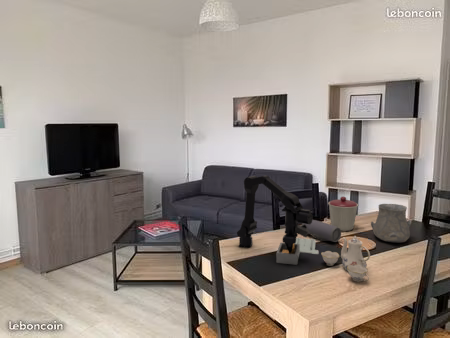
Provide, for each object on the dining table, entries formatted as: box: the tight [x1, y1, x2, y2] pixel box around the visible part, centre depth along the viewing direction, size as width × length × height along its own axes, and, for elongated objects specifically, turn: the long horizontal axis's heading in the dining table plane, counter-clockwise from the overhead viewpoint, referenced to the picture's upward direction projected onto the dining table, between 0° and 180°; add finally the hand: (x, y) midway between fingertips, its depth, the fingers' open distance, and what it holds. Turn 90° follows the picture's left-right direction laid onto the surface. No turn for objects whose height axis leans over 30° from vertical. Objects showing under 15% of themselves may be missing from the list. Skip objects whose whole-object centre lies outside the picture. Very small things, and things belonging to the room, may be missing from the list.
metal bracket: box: [295, 236, 319, 255], centre depth 184 cm, size 14×6×15 cm
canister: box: [327, 196, 359, 232], centre depth 215 cm, size 18×18×21 cm
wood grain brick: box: [282, 243, 295, 254], centre depth 171 cm, size 6×5×7 cm
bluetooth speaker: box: [300, 219, 342, 243], centre depth 199 cm, size 23×9×10 cm, turn 35°
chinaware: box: [320, 235, 371, 283], centre depth 155 cm, size 28×17×17 cm, turn 28°
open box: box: [275, 242, 301, 266], centre depth 171 cm, size 10×15×5 cm, turn 163°
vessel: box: [370, 203, 412, 244], centre depth 193 cm, size 22×22×20 cm
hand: (290, 250), depth 171 cm, fingers closed on wood grain brick, 5 cm apart
